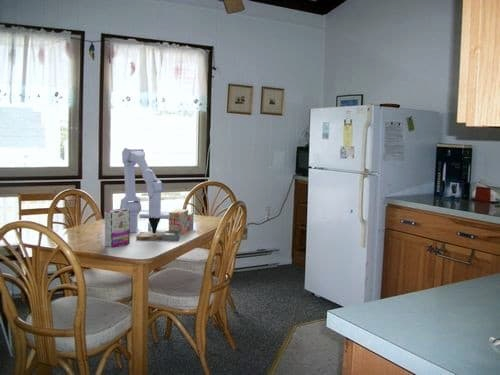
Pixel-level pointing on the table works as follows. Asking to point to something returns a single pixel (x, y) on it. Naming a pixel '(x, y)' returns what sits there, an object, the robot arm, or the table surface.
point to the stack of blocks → (181, 221)
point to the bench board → (148, 236)
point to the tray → (171, 236)
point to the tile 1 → (160, 232)
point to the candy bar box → (117, 227)
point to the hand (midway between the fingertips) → (154, 233)
